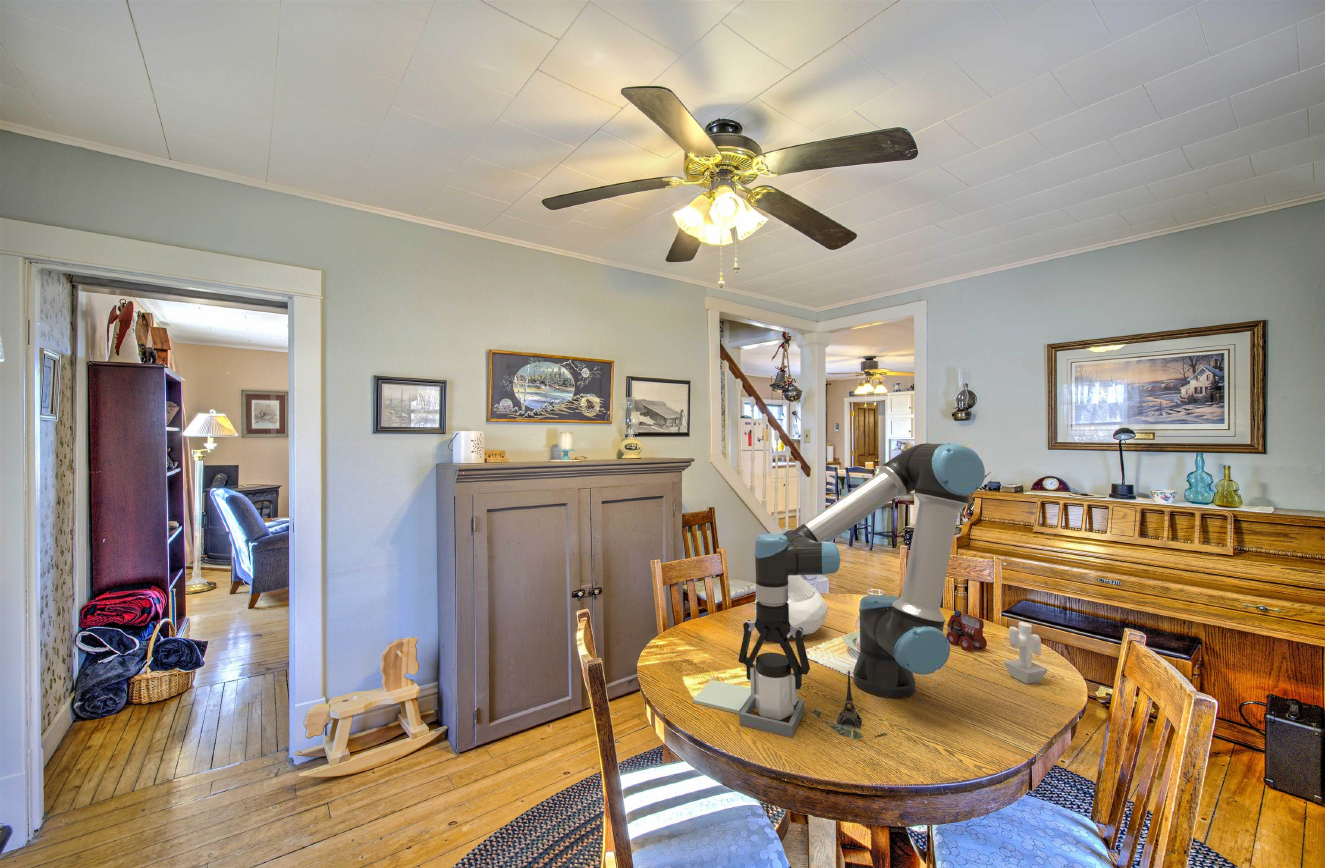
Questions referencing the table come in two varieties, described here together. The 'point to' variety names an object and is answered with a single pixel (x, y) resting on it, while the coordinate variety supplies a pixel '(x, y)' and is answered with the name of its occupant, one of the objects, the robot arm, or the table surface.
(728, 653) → the table surface
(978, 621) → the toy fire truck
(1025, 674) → the figurine
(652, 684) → the table surface
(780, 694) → the jar
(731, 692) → the coaster
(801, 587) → the decorative rooster
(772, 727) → the pocket
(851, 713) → the eiffel tower figurine
